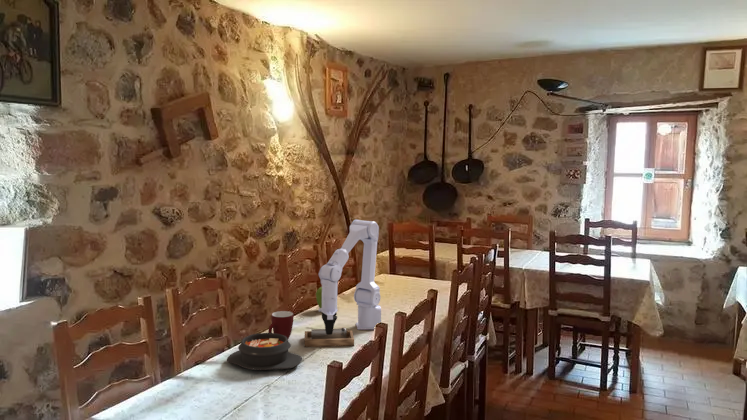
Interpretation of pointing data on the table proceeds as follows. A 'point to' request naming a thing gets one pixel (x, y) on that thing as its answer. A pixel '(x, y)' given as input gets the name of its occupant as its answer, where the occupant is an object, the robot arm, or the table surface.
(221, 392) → the table surface
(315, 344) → the wooden tray
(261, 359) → the casserole
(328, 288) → the robot arm
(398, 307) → the table surface
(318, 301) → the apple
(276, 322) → the mug
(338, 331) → the slotted metal channel
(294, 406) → the table surface
